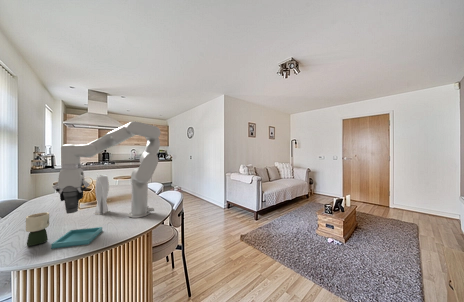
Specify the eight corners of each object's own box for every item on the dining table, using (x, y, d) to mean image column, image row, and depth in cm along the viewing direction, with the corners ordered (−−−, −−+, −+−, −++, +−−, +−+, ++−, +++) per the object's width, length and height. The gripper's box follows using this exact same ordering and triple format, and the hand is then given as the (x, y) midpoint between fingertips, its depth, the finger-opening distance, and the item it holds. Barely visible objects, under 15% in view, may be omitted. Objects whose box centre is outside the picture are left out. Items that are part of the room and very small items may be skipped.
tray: (102, 230, 91) (102, 226, 91) (88, 244, 78) (89, 239, 78) (70, 234, 87) (71, 230, 87) (51, 248, 74) (51, 243, 74)
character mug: (53, 242, 79) (54, 214, 79) (30, 250, 72) (30, 219, 72) (43, 237, 83) (44, 210, 83) (21, 244, 77) (21, 215, 77)
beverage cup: (70, 209, 96) (70, 174, 96) (84, 209, 97) (83, 174, 97) (58, 214, 89) (58, 176, 89) (73, 214, 90) (73, 176, 90)
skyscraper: (90, 214, 114) (91, 172, 115) (101, 210, 122) (101, 171, 123) (101, 215, 113) (102, 173, 114) (111, 211, 121) (112, 171, 122)
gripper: (93, 165, 99) (94, 196, 99) (56, 167, 94) (57, 199, 94) (86, 167, 92) (87, 200, 92) (45, 168, 87) (46, 203, 87)
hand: (72, 199), depth 93 cm, fingers closed on beverage cup, 6 cm apart
